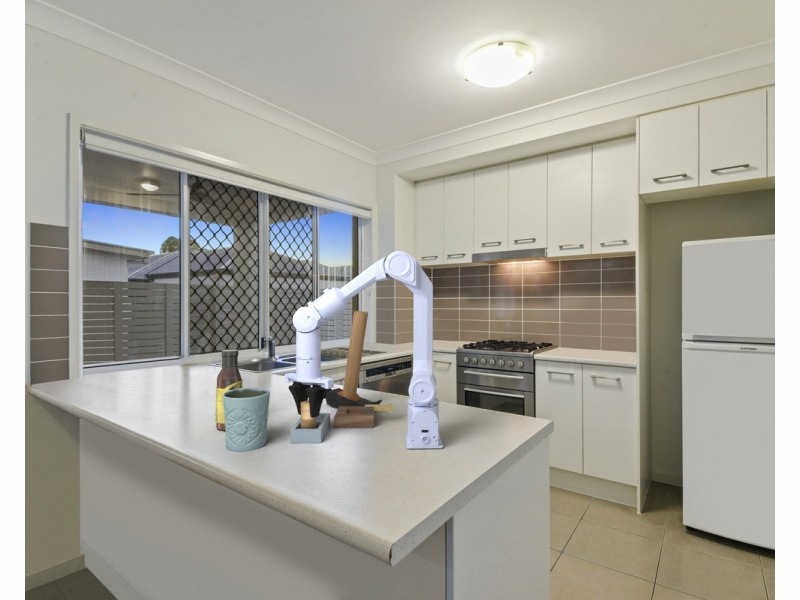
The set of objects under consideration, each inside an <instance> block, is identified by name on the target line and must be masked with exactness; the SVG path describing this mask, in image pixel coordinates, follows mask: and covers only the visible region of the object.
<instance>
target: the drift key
mask: <svg viewBox="0 0 800 600" xmlns="http://www.w3.org/2000/svg"><path fill="white" fill-rule="evenodd" d="M365 408H374V411H375V412H387V413H388V414H392V413H393V402H387V404H379V405H365Z"/></svg>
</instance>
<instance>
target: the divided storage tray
mask: <svg viewBox="0 0 800 600" xmlns="http://www.w3.org/2000/svg"><path fill="white" fill-rule="evenodd" d="M330 426H331V412H320V413H319V416H317V417H316V429H301V416H300V417H299V418H298V419H297V420H296V422H295V423H294V425H293V426H292V427H291V429H290V432H289V434H290V435H289V438H290V439H289V441H290V442H289V443H290V444H321V443H322V442H323V440H324V438H325V436H326V434H327V431H328V429H329V427H330Z"/></svg>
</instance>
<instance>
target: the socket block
mask: <svg viewBox="0 0 800 600" xmlns="http://www.w3.org/2000/svg"><path fill="white" fill-rule="evenodd" d="M366 405H375V404H366ZM375 420H376V411H374V408H365V406H339V408H337V410H336V412H335V414H334V416H333V422H334V423H333V428H334V429H374V426H375Z"/></svg>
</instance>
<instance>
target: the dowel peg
mask: <svg viewBox="0 0 800 600" xmlns="http://www.w3.org/2000/svg"><path fill="white" fill-rule="evenodd" d="M300 417H301V429H316V417H314V418H311V416H310V405H309V400H308V401H303V402H301V415H300Z"/></svg>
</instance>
